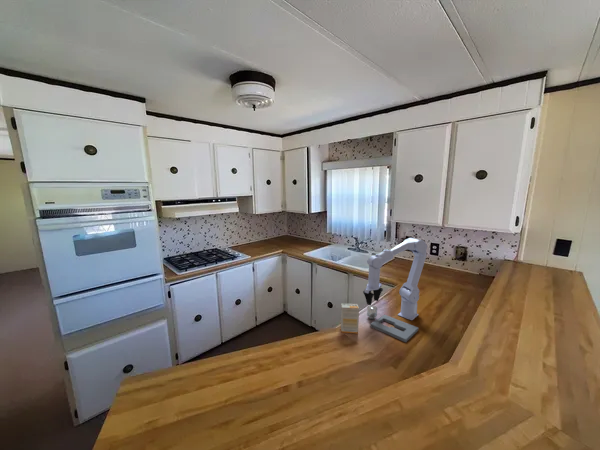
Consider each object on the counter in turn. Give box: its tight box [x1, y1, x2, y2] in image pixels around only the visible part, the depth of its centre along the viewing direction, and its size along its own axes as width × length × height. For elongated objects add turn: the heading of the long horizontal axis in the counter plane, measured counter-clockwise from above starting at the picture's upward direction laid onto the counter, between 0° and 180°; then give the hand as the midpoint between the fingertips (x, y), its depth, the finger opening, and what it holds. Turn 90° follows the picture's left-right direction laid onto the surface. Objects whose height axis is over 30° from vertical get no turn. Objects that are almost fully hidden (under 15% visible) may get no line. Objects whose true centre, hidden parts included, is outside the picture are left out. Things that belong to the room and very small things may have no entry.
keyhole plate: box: [369, 314, 419, 343], centre depth 118 cm, size 15×18×2 cm
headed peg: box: [366, 305, 378, 320], centre depth 128 cm, size 5×5×6 cm
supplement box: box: [340, 303, 360, 335], centre depth 114 cm, size 8×5×13 cm, turn 84°
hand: (372, 302), depth 127 cm, fingers open, 7 cm apart
